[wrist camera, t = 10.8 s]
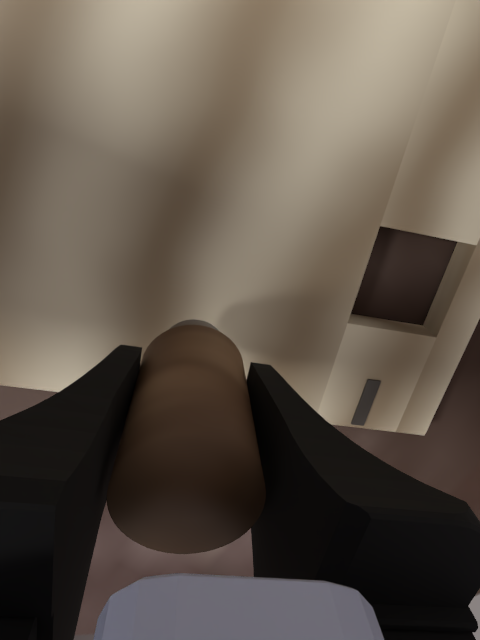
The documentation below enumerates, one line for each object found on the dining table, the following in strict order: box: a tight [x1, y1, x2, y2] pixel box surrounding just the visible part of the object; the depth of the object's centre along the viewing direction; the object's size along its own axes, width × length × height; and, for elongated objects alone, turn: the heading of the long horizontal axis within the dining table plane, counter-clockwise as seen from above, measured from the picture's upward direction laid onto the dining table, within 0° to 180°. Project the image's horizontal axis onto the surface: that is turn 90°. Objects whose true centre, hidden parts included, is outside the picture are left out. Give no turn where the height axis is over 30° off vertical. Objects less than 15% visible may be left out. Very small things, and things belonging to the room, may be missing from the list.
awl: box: [107, 319, 266, 554], centre depth 11 cm, size 3×3×6 cm
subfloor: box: [0, 0, 480, 435], centre depth 14 cm, size 19×26×1 cm
